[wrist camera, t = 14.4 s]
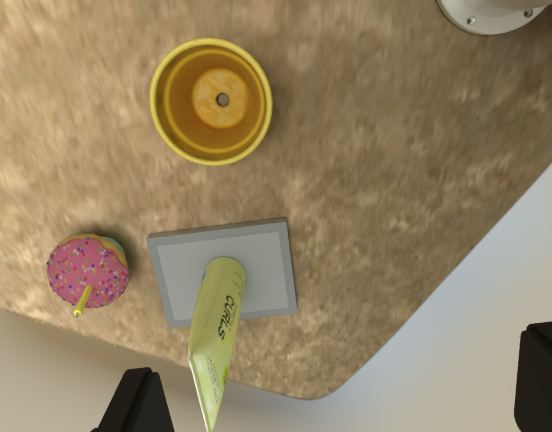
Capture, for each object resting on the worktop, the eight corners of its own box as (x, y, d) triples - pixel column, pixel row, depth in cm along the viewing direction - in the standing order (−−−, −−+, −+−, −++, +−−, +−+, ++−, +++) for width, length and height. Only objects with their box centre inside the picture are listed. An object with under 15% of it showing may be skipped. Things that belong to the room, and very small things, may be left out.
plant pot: (292, 98, 43) (298, 105, 34) (226, 166, 45) (215, 190, 36) (219, 21, 41) (204, 6, 31) (153, 98, 43) (121, 105, 34)
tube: (258, 275, 48) (252, 401, 30) (231, 304, 49) (209, 442, 31) (221, 247, 47) (189, 360, 28) (194, 277, 48) (147, 404, 30)
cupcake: (151, 241, 48) (115, 292, 37) (125, 297, 51) (84, 361, 39) (81, 209, 47) (21, 252, 35) (58, 269, 49) (-6, 327, 38)
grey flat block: (285, 217, 47) (286, 221, 46) (296, 306, 51) (297, 313, 50) (150, 233, 48) (146, 239, 46) (171, 321, 52) (168, 328, 50)
